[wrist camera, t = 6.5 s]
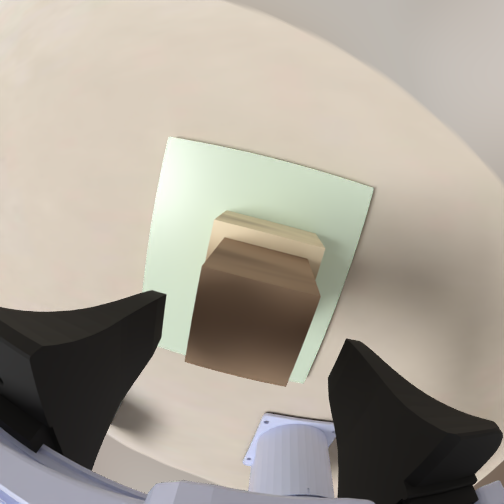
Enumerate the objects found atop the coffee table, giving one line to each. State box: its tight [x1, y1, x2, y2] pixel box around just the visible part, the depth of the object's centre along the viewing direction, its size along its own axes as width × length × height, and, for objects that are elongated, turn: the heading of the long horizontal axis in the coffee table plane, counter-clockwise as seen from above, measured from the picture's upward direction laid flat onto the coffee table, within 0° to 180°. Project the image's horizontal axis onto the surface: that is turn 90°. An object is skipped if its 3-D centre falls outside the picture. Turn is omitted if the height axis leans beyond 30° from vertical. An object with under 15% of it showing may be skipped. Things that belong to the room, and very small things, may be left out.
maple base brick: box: [205, 210, 325, 280], centre depth 18 cm, size 6×6×4 cm
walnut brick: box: [185, 237, 321, 387], centre depth 14 cm, size 4×4×5 cm
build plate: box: [142, 137, 374, 384], centre depth 21 cm, size 16×14×1 cm
